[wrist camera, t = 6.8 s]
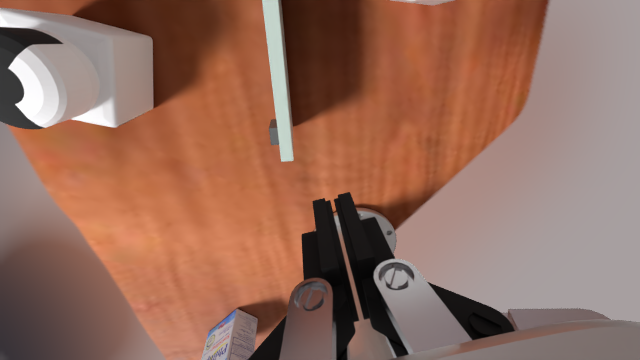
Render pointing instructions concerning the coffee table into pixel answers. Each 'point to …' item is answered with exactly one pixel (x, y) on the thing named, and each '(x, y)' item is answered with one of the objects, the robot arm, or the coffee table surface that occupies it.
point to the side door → (279, 79)
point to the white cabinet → (425, 1)
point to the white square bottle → (71, 71)
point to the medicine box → (232, 338)
